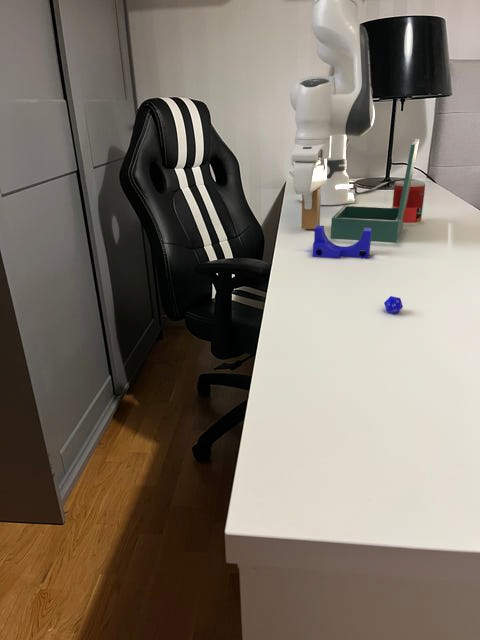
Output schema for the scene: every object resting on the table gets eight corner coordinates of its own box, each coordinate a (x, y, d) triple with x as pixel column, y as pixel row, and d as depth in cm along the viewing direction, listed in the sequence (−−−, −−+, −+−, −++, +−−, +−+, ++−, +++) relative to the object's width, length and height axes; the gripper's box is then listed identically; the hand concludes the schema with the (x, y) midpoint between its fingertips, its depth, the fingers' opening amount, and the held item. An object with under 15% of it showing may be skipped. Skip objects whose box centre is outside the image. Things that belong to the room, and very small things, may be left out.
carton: (305, 225, 134) (306, 187, 130) (319, 225, 133) (321, 187, 129) (301, 228, 131) (302, 189, 127) (316, 229, 130) (317, 189, 126)
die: (405, 314, 80) (402, 303, 78) (389, 319, 81) (385, 308, 79) (401, 301, 82) (397, 290, 80) (385, 306, 83) (381, 295, 81)
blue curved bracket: (312, 256, 111) (313, 230, 109) (316, 251, 115) (317, 225, 113) (367, 260, 108) (369, 232, 105) (369, 254, 112) (371, 228, 109)
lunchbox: (330, 241, 123) (331, 218, 121) (342, 226, 137) (344, 205, 135) (396, 245, 118) (398, 221, 115) (402, 230, 132) (404, 208, 130)
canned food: (422, 225, 136) (427, 184, 131) (391, 225, 137) (395, 184, 133) (419, 219, 143) (423, 180, 138) (390, 219, 144) (393, 180, 140)
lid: (411, 144, 108) (415, 144, 108) (415, 139, 123) (419, 139, 122) (397, 219, 115) (400, 219, 115) (402, 206, 129) (406, 206, 129)
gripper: (310, 147, 134) (308, 199, 140) (289, 154, 117) (288, 213, 122) (333, 147, 132) (331, 200, 138) (315, 154, 115) (314, 215, 120)
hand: (311, 206), depth 130 cm, fingers closed on carton, 4 cm apart
